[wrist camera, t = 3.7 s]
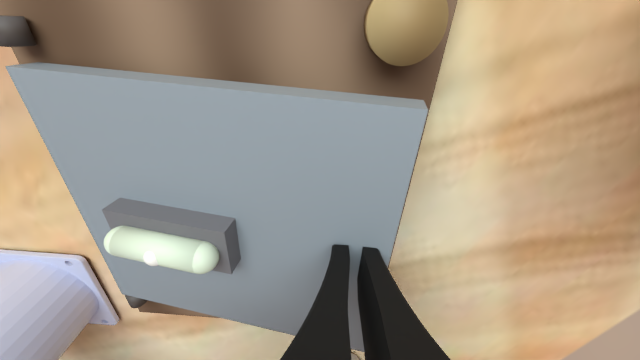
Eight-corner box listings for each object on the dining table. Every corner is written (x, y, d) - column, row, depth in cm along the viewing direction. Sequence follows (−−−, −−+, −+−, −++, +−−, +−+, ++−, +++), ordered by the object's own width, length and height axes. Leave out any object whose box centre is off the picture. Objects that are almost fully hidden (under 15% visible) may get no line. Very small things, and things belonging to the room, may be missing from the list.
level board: (136, 279, 19) (90, 326, 16) (38, 62, 12) (-78, 76, 9) (367, 332, 17) (363, 398, 14) (423, 100, 9) (440, 137, 6)
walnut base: (147, 300, 22) (126, 332, 20) (-11, -55, 11) (-103, -74, 8) (370, 317, 22) (374, 351, 19) (455, -30, 10) (488, -43, 8)
